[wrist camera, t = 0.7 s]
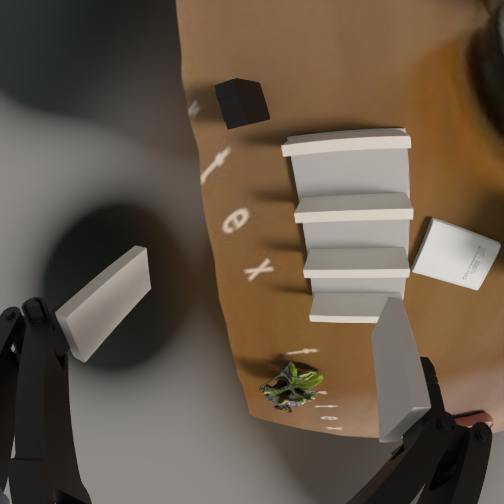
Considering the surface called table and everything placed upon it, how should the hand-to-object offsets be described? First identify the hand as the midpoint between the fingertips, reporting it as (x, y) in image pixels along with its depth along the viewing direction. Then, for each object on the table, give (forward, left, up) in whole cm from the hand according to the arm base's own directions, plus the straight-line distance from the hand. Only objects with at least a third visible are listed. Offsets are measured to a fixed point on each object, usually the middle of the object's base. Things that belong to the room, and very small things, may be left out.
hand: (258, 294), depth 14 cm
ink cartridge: (+6, -10, -23) cm, 26 cm away
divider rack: (-4, +7, -23) cm, 24 cm away
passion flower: (+9, +40, -23) cm, 47 cm away
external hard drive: (-19, +12, -24) cm, 33 cm away
